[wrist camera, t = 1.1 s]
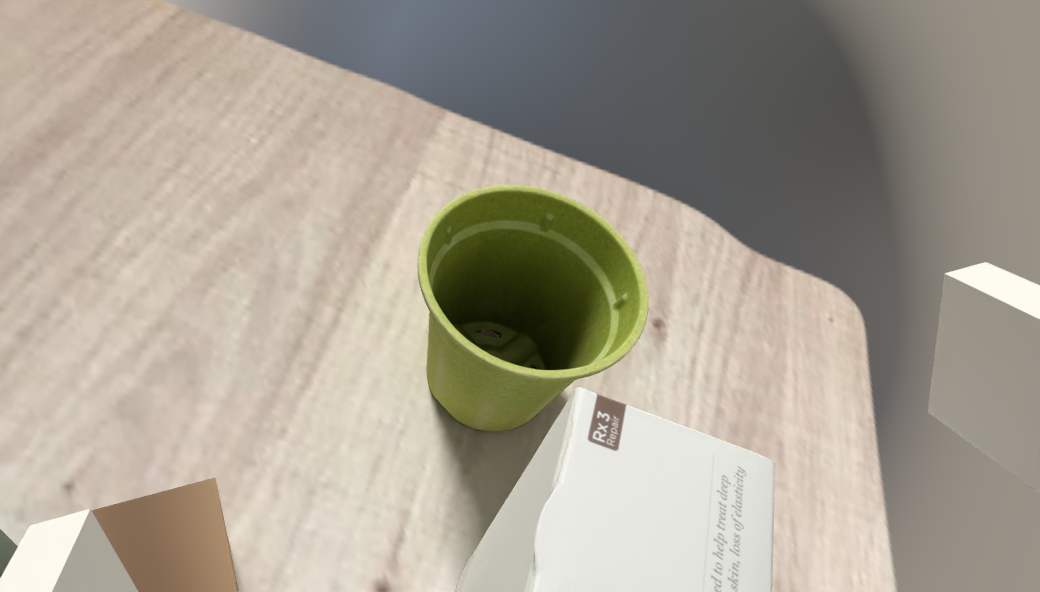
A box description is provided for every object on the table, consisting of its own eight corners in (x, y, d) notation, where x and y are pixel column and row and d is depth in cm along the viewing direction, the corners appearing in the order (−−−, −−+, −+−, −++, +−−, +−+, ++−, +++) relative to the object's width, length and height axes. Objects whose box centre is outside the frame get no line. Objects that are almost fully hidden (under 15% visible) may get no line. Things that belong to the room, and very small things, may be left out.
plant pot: (589, 472, 33) (668, 385, 26) (386, 464, 30) (415, 366, 24) (568, 308, 38) (629, 200, 31) (394, 290, 36) (420, 169, 29)
